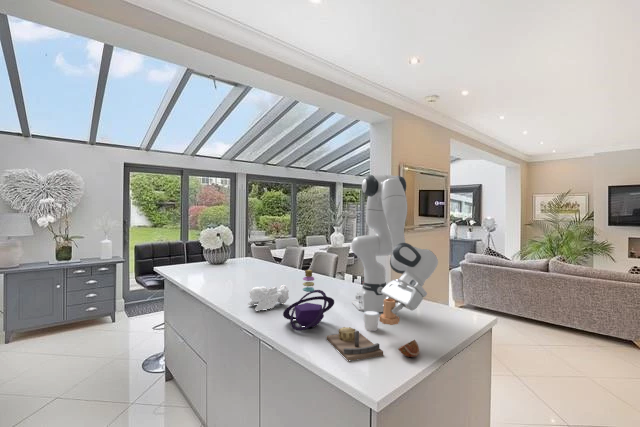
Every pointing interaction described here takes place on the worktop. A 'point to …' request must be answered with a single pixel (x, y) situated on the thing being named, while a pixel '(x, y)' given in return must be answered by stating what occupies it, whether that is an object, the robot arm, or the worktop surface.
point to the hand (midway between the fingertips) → (388, 310)
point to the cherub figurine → (268, 296)
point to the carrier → (354, 344)
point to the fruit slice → (410, 349)
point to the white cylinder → (371, 320)
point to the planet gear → (389, 313)
